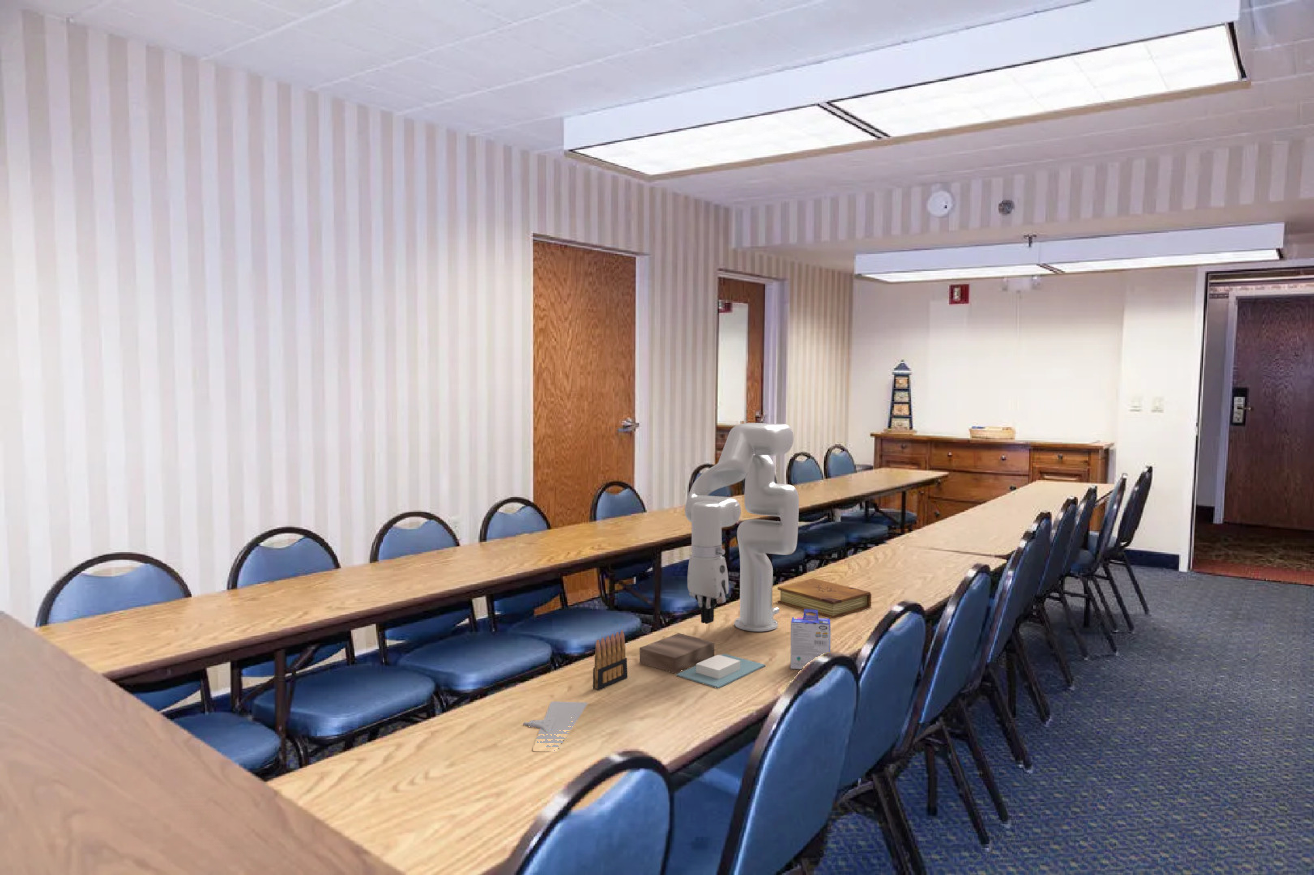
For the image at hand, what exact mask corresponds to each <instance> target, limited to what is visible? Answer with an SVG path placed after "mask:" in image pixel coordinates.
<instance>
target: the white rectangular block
mask: <svg viewBox="0 0 1314 875" xmlns="http://www.w3.org/2000/svg"><path fill="white" fill-rule="evenodd" d="M721 655H722V654H717V655H714V657H711V658H709V659H706V660H704V661H702V662H699V663H697V664H696V665H695V666H696V673H700V674H703V675H706V676H710V677H713V678H716V679H720V678H722V677H725V676H727V675H729V674H731V673H733V672H736V671H738V670H740V661H739V660H736V659H732V658H729V657H725V656H721Z"/></svg>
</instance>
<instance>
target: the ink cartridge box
mask: <svg viewBox="0 0 1314 875" xmlns="http://www.w3.org/2000/svg"><path fill="white" fill-rule="evenodd" d="M808 613H813V614H815V615H811V614H809V615H808ZM831 634H832V633H831V619H830V618H822V617H821V618H819V614H818V610H811V609H804V610H803V617H795V616H793V617H791V621H790V667H789V668H790V669H792V670H793V669H794V670H803V669H802V668H803V666H805V665H806V664H807V663H808V662H810V661H811V660H813V659H814V658H815V657H818V656H820V655H821V654H823V653H827V652H830V653H831V643H832V642H831V640H832V639H831Z"/></svg>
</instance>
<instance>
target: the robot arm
mask: <svg viewBox="0 0 1314 875" xmlns="http://www.w3.org/2000/svg"><path fill="white" fill-rule="evenodd" d="M793 444H794V432H793V429H792V428H791V426H790V425H788V424H786V423H765V422H746V423H740V424H737V425H734V426H733V427H732V428H731V429H730V431H729V433H728V436H727V438H726V441H725V444H724V447H723V449H722V451H721V454H720V457H719V459H718V462H717V463H716V464H714V465H713V466H711V467H710V468H709V469H707V470H705V471H704V472H703V473H702V474H700V475H699V476H698V477H697V478H696V479H695V481H694V482H693V483H692V485H691V488H690V491H689V492H688V495H687V498H686V500H685V501H686V502H685V506H684V514H685V518H686V519H687V520H688V521H689V522H690V523H691V555H690V556H689V560H688V567H687V568H688V569H687V589H688V592H689V593H688V595H689V596H690V597H692V598H694V599H695V600H696V602H697V603H698V605H697V606H698V607H699V608H700V623H701V624H706V625H707V624H708V625H709V624H711V623H713V622H714V621H715V607H716V605H717V604H724V603H726V601H727V598H726V595H728V594H729V588H730V586H729V574H728V568H727V561H726V558H725V556H724V555H725V553H726V550H725V549H723V544H722V543H723V540H722V537H723V536H722V535H723V532H722V528H727V527H732V526H733V525H735V524H736V523H737V522H738V521H739V520H740V518H741V513H742V509H741V508H742V507H741V504H740V503H739V501H738V500H737V499H735V498H733V497H729V496H719V495H717V496H716V495H710V494H712V493H713V492H715V491H716V490H718V489H722V488H725V487H728V486H731V485H735V484H737V483H741V482H742V481H744V496H743V497H744V499H743V500H744V501H743V502H744V508H745V511H746V512H747V513H748V514H749V513H750V514H751V515H756V516H765V517H766V516H770V517H778V518H780V521H779V520H777V521H776V520H769V519H758V518H757V519H756V518H754V519H746V520H743V521H742V522H740V523H739V525H738V527H737V531H736V538H737V542H738V543H737V544H738V550H739V566H740V567H739V568H740V570H739V572H740V573H739V574H740V576H739V588H740V589H739V617H738V618H736V619H735V620H734V626H735V627H736V628H737V629H739V630H743V631H746V632H747V631H748V632H761V633H762V632H769V631H773V630H775V629H777V628H778V625H779V624H778V621H777V620H776V619H775V618H774V615H777V614H778V613H779V614H780V608H779V607H777V606H775V607H773V578H774V577H773V574H774V573H773V572H774V570H773V565H772V562H771V560H770V559H769V557H768V556H767V554H771V555H783V556H784V555H785V556H787V555H789V556H790V555H792V554H793V553H794V552H795V551H796V549H797V545H798V536H799V534H798V533H799V513H800V512H799V511H800V498H799V492H798V490H797V488H796V487H795V486H793V485H791V484H788V483H776V482H775V470H776V469H775V464H774V462H773V460H772V458H771V456H781V455H786V454H787V453H789V452H790V451H791V449H792V447H793Z"/></svg>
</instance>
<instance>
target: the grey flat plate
mask: <svg viewBox="0 0 1314 875" xmlns="http://www.w3.org/2000/svg"><path fill="white" fill-rule="evenodd" d="M587 705H589V702H579V701H556V700H555V701H551V702H550V703H549V706H548V708H547V711H546V713H545V716H544V718H543V719H538V720H535V719H533V720H532V719H530V720H529V722H525V721H524V722H523V724H522V725H527V726H526V727H528V726H530V727H536V728H535V729H539V728H540V729H539V731H538V733H537V736H538V734H544V735H545V736H543V735H540V736H538V737H537V736H536V738H535V740H536V739H545V741H543V742H542V741H540V743H562V744H563V743H564V742H563V741H561V740H559V741H557V740H555V739H565V740H566V739H567V737H566V738H564V737H561V736H559V737H557V736H556V735H557V734H568V735H569V734H570V732H569V731H566V732H564V731H563V730H571V731H572V730H573V727H574V726H575V725H576V723H577V721H578V720H579V718H580V717H581V715H582V713H583V712H584V710H585V709H586V707H587ZM571 717H572V718H571ZM571 721H573V722H571ZM568 726H571V727H568ZM572 726H573V727H572ZM530 727H529V728H530ZM559 730H561V731H559ZM567 732H569V733H567ZM546 734H548V735H546ZM550 734H552V736H551V735H550ZM554 734H556V735H554ZM547 739H553V740H551V741H548V740H547ZM537 743H539V742H538V741H537ZM546 747H551V746H549V745H547V746H546ZM552 747H559V746H558V745H553V746H552ZM554 751H555V750H554Z"/></svg>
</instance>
